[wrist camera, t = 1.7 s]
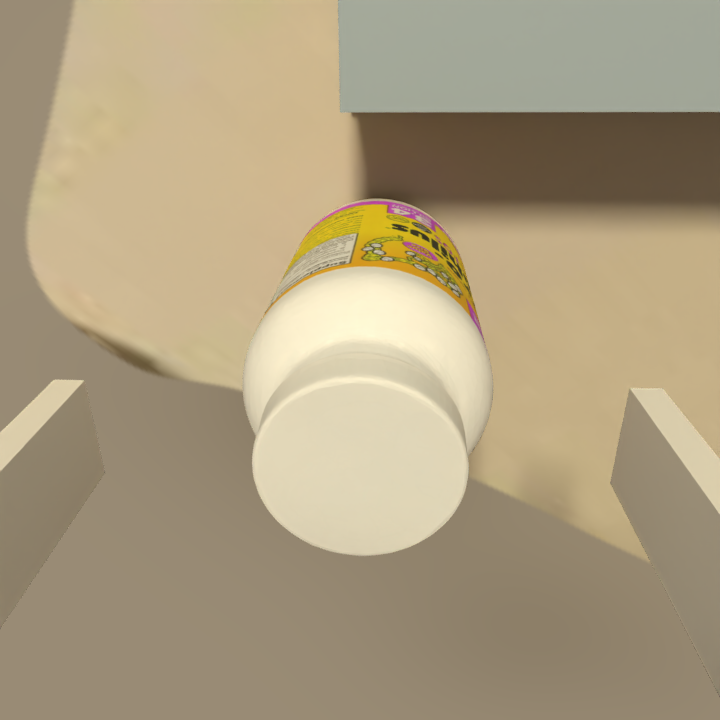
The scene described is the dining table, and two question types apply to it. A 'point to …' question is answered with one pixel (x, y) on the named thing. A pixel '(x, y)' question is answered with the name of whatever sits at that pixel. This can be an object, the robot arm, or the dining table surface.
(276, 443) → the supplement bottle
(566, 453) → the dining table surface
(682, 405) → the dining table surface
